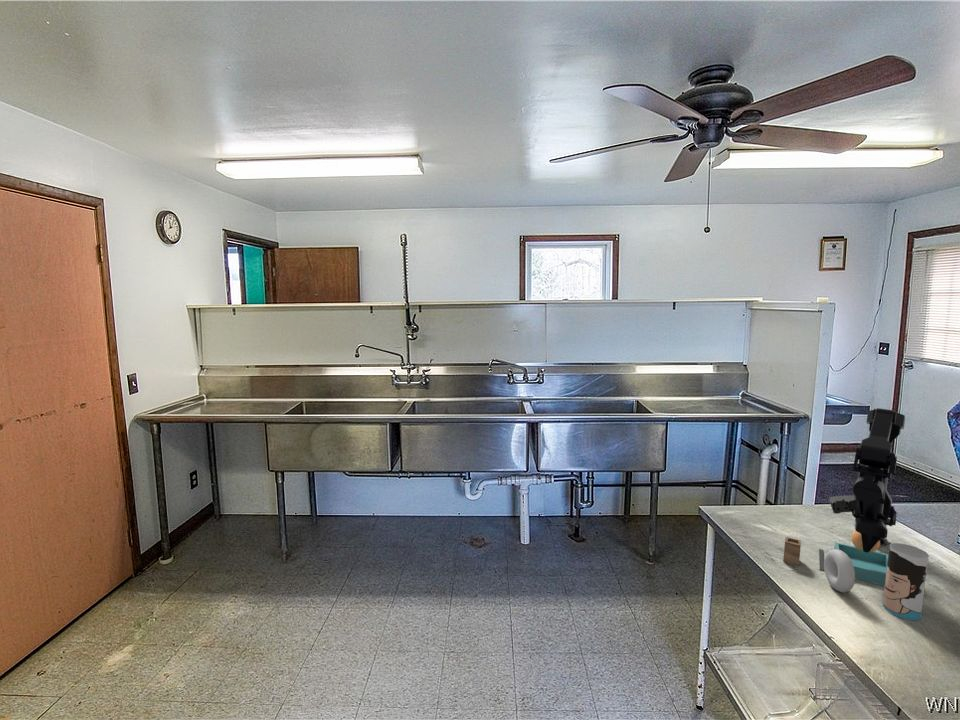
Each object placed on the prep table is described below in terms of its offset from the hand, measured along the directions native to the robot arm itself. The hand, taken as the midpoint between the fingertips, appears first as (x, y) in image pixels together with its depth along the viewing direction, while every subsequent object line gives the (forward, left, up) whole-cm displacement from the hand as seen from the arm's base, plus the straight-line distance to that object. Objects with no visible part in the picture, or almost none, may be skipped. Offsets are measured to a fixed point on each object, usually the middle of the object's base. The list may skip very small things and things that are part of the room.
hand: (864, 546), depth 128 cm
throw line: (+1, -9, -6) cm, 11 cm away
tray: (0, 0, -6) cm, 6 cm away
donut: (+15, -6, -7) cm, 18 cm away
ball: (0, 0, +2) cm, 2 cm away
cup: (+17, +6, -7) cm, 19 cm away
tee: (+6, -16, -6) cm, 18 cm away
